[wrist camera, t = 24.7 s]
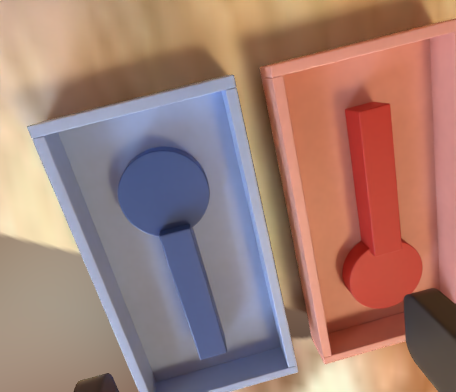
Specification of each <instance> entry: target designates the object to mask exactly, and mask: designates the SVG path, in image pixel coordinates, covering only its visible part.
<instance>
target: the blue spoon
mask: <svg viewBox="0 0 456 392" xmlns="http://www.w3.org/2000/svg"><path fill="white" fill-rule="evenodd" d="M209 198H210V189H209V184H208V180H207V177H206V174H205V172H204V170H203V168H202V166H201V165H200V163H199V162H198V161H197V160H196V159H195V158H194V157H192V156H191V155H190V154H188V153H187V152H184V151H182V150H180V149H177V148H172V147H156V148H151V149H148V150H146V151H144V152H142V153H140V154H138V155H137V156H136V157H135V158H134V159H132V161H131V162H130V163H129V164H128V166H127V167H126V169H125V170H124V172H123V174H122V176H121V178H120V181H119V185H118V200H119V204H120V207H121V210H122V212H123V213H124V215H125V217H126V218H127V219H128V220H129V222H130V223H131V224H133V225H134V226H135V227H136V228H138V229H139V230H141V231H143V232H145V233H148V234H151V235H154V236H159V238H160V241H161V244H162V247H163V250H164V253H165V256H166V259H167V262H168V265H169V268H170V271H171V274H172V277H173V280H174V283H175V286H176V289H177V292H178V295H179V298H180V301H181V304H182V307H183V310H184V313H185V316H186V319H187V322H188V324H189V327H190V330H191V333H192V336H193V339H194V342H195V345H196V348H197V351H198V354H199V357H200V359H201V360H203V359H207V358H210V357H214V356H217V355H221V354H224V353H227V346H226V340H225V334H224V331H223V327H222V324H221V321H220V317H219V314H218V311H217V307H216V304H215V300H214V297H213V294H212V290H211V287H210V284H209V280H208V277H207V273H206V270H205V267H204V263H203V260H202V257H201V253H200V250H199V246H198V243H197V240H196V236H195V233H194V230H193V227H194V226H195V225H196V224H197V223H198V222H199V221H200V220H201V218H202V217H203V216H204V214H205V212H206V210H207V207H208V204H209Z"/></svg>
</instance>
